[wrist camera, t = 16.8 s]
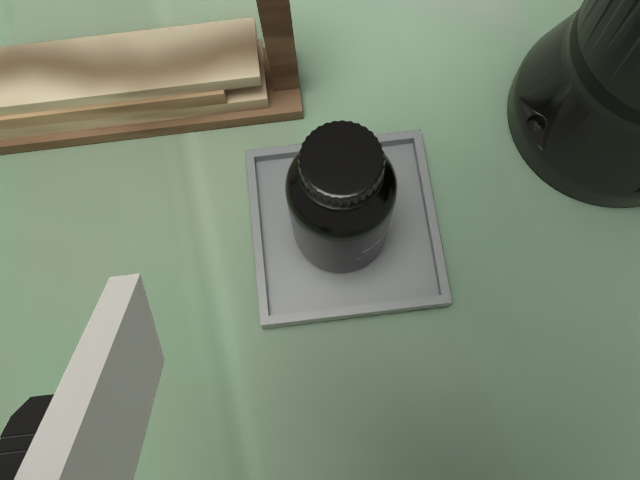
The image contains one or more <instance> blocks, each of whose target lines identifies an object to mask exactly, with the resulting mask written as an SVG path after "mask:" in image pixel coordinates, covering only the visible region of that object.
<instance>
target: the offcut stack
mask: <svg viewBox="0 0 640 480" xmlns="http://www.w3.org/2000/svg"><path fill="white" fill-rule="evenodd" d="M265 108H269V99H268V89H267V79H266V69H265V60H264V50H263V45H262V40H261V39H260V40H257V30H256V24H255V19H254V17H249V18H241V19H232V20H224V21H216V22H207V23H199V24H190V25H182V26H174V27H165V28H157V29H149V30H140V31H132V32H123V33H115V34H107V35H98V36H90V37H81V38H73V39H65V40H56V41H48V42H39V43H31V44H23V45H14V46H6V47H0V140H5V139H14V138H22V137H31V136H39V135H47V134H56V133H64V132H72V131H81V130H89V129H97V128H106V127H114V126H123V125H131V124H139V123H148V122H156V121H164V120H173V119H181V118H189V117H198V116H206V115H215V114H223V113H231V112H240V111H248V110H256V109H265Z"/></svg>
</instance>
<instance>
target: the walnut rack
mask: <svg viewBox="0 0 640 480" xmlns="http://www.w3.org/2000/svg"><path fill="white" fill-rule="evenodd" d="M256 2H257V7H258V12H259V17H260V22H261V27H262V32H263V37H264V42H265V47H266V48H263V50H264V60H265V69H266V79H267V89H268V99H269V108H265V109H256V110H248V111H240V112H231V113H223V114H215V115H206V116H198V117H189V118H181V119H173V120H164V121H156V122H148V123H139V124H131V125H123V126H114V127H106V128H97V129H89V130H81V131H72V132H64V133H56V134H47V135H39V136H31V137H22V138H14V139H5V140H0V155H3V154H11V153H20V152H28V151H36V150H45V149H53V148H62V147H70V146H78V145H87V144H95V143H103V142H112V141H120V140H128V139H137V138H145V137H154V136H162V135H170V134H179V133H187V132H195V131H204V130H212V129H220V128H229V127H237V126H245V125H254V124H262V123H271V122H279V121H287V120H296V119H303V111H302V102H301V94H300V86H299V77H298V69H297V61H296V52H295V44H294V36H293V28H292V19H291V11H290V3H289V0H256Z"/></svg>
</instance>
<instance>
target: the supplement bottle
mask: <svg viewBox="0 0 640 480" xmlns="http://www.w3.org/2000/svg"><path fill="white" fill-rule="evenodd" d="M285 193H286V200H287V205H288V209H289V214H290V219H291V224H292V228H293V233H294V237H295V240H296V243H297V245H298V247H299V249H300V251H301V252H302V254H303V255H304V256H305V257H306V258H307V259H308V260H309V261H310V262H311V263H313V264H314V265H316V266H318V267H320V268H322V269H325V270H328V271H333V272H349V271H353V270H356V269H359V268H361V267H363V266H365V265H367V264H368V263H370V262H371V261H372V260H373V259H374V258H375V257H376V256H377V255H378V254H379V252H380V251H381V249H382V247H383V245H384V243H385V240H386V237H387V234H388V230H389V226H390V222H391V218H392V214H393V210H394V206H395V202H396V196H397V178H396V174H395V170H394V168H393V165H392V163H391V162H390V160H389V158H388V157H387V156H386V154H385V153H384V151H383V150H382V145H381V143H380V142H378V138H377V137H376V136H374V134H373V132H371V131H369V130H368V129H367V128H366V127H364V126H361V125H360V124H359V123H353V122H351V121H348V122H346V121H343V120H342V121H339V122H338V121H333V122H331V123H325V124H324V125H323V126H319V127H318V128H317V129H316V130H313V131H312V132H311V134H310V135H309V136H307V137H306V140H305V141H304V142H303V143H302V148H301V149H300V151H299V153H298V154H297V155H296V156H295V158H294V159H293V161H292V163H291V164H290V167H289V169H288V172H287V176H286V181H285Z"/></svg>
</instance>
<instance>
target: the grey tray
mask: <svg viewBox="0 0 640 480" xmlns="http://www.w3.org/2000/svg"><path fill="white" fill-rule="evenodd" d="M374 136H376V137H377V138H378V142H380V143H381V145H382V150H383V151H384V153H385V154H386V156H387V157H388V158H389V160H390V162H391V163H392V165H393V168H394V170H395V174H396V178H397V196H396V202H395V206H394V210H393V214H392V218H391V222H390V226H389V230H388V234H387V237H386V240H385V243H384V245H383V247H382V249H381V251H380V252H379V254H378V255H377V256H376V257H375V258H374V259H373V260H372V261H371V262H370V263H368V264H367V265H365V266H363V267H361V268H359V269H356V270H353V271H349V272H333V271H328V270H325V269H322V268H320V267H318V266H316V265H314V264H313V263H311V262H310V261H309V260H308V259H307V258H306V257H305V256H304V255H303V254H302V252H301V251H300V249H299V247H298V245H297V243H296V240H295V237H294V233H293V228H292V224H291V219H290V214H289V209H288V205H287V200H286V193H285V181H286V176H287V172H288V169H289V167H290V164H291V163H292V161H293V159H294V158H295V156H296V155H297V154H298V153H299V151H300V149H301V148H302V144H296V145H288V146H279V147H271V148H263V149H254V150H246V151H245V153H246V165H247V176H248V188H249V199H250V211H251V222H252V234H253V245H254V257H255V268H256V280H257V291H258V303H259V314H260V325H261V327H262V328H263V329H266V328H274V327H282V326H291V325H299V324H307V323H316V322H324V321H332V320H340V319H349V318H357V317H365V316H374V315H382V314H390V313H399V312H407V311H415V310H423V309H432V308H440V307H448V306H449V305H450V304H451V303H452V299H451V294H450V288H449V283H448V277H447V272H446V266H445V261H444V255H443V250H442V244H441V239H440V233H439V228H438V222H437V217H436V211H435V206H434V200H433V195H432V189H431V184H430V179H429V173H428V168H427V162H426V157H425V151H424V146H423V140H422V135H421V130H413V131H405V132H396V133H388V134H380V135H374Z"/></svg>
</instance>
